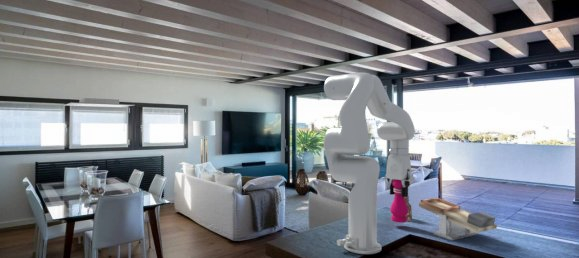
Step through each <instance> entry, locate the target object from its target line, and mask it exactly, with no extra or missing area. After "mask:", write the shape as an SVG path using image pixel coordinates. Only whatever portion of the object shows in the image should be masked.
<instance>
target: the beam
mask: <svg viewBox="0 0 579 258" xmlns="http://www.w3.org/2000/svg"><path fill="white" fill-rule="evenodd" d="M418 207H419V208H422V210H423V209H424V210H426V211H428V212H430V213H432V214H435V215H436V216H439V214H443V215H447V216H448V220H449V221H451V222H454V223H456V224H458V225H460V226H462V227H464V228H466V229H469V230H471V231H473V232H475V233H477V234H478V233H482V232H486V231H491V230H495V229H497V227H498V224H497V223H495V222H496V216H493V215H490V214H488V213H485V212H483V211H481V212H475V213H472V212H471V213H469V212H466V211H467V210H466V211H464V210H465V209H461V206H460V205H457V204H455V203H453V202H451V201H447V200H445V199H442V198H440V197H432V198H427V199H425V198H424V199H420V202H419V204H418Z"/></svg>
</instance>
